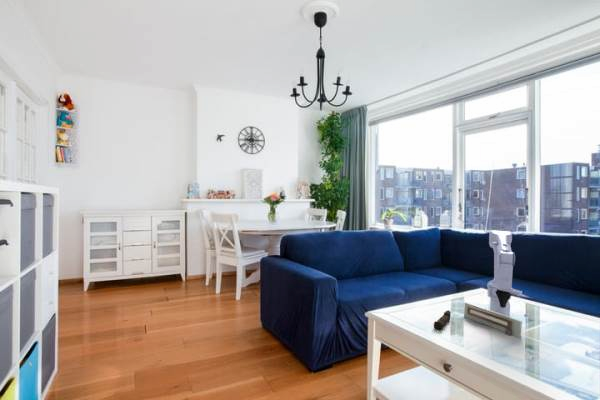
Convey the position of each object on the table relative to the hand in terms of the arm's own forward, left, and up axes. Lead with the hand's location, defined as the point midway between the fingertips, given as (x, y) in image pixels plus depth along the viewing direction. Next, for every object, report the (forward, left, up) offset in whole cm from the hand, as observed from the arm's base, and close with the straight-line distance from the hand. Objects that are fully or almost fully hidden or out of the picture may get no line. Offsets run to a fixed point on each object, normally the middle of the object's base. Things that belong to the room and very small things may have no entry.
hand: (502, 307), depth 153 cm
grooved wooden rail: (+4, -4, -7) cm, 9 cm away
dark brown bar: (+21, -15, -10) cm, 28 cm away
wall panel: (+3, -4, -10) cm, 11 cm away
